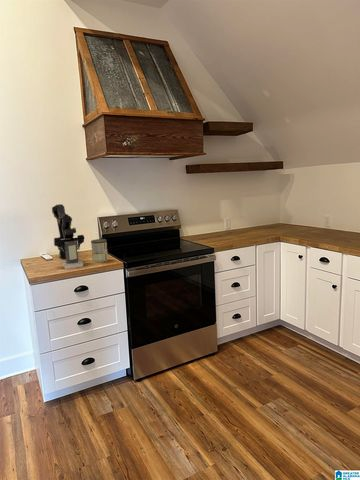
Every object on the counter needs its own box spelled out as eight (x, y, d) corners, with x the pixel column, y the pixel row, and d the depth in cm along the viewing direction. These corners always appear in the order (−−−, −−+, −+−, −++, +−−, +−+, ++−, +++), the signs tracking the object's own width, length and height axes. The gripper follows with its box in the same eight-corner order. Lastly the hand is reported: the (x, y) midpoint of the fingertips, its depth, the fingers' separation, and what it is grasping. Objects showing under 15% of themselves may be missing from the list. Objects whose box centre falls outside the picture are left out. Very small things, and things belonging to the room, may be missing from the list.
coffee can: (91, 260, 243) (89, 240, 240) (105, 258, 247) (104, 238, 245) (94, 263, 234) (92, 242, 231) (109, 260, 238) (108, 240, 236)
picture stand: (63, 265, 230) (62, 261, 230) (80, 263, 235) (79, 259, 235) (65, 269, 221) (65, 264, 221) (83, 266, 226) (82, 262, 226)
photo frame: (66, 263, 228) (64, 242, 225) (76, 261, 231) (74, 240, 229) (68, 264, 224) (66, 243, 221) (78, 262, 228) (76, 241, 225)
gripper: (52, 225, 223) (56, 245, 215) (82, 222, 231) (87, 241, 223) (52, 236, 231) (56, 255, 223) (81, 232, 239) (86, 251, 231)
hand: (71, 250), depth 225 cm, fingers open, 9 cm apart
